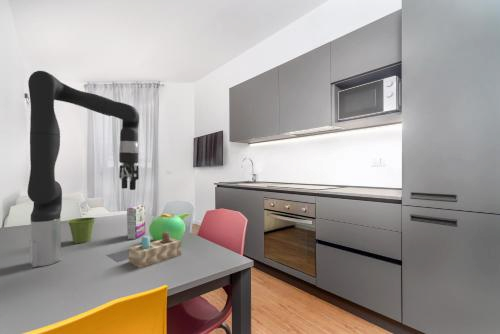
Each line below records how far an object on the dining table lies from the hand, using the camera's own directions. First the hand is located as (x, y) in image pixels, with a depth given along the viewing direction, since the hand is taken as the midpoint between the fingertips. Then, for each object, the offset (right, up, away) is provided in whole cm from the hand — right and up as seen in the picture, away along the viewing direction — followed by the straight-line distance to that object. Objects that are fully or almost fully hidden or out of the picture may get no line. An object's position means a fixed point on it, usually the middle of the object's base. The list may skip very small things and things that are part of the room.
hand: (128, 189), depth 108 cm
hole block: (+15, -28, -6) cm, 32 cm away
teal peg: (+12, -28, -10) cm, 32 cm away
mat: (0, -28, -2) cm, 28 cm away
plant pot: (-33, -29, +18) cm, 47 cm away
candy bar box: (-9, -29, +27) cm, 40 cm away
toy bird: (+12, -28, +17) cm, 35 cm away
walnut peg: (+17, -28, -3) cm, 33 cm away
